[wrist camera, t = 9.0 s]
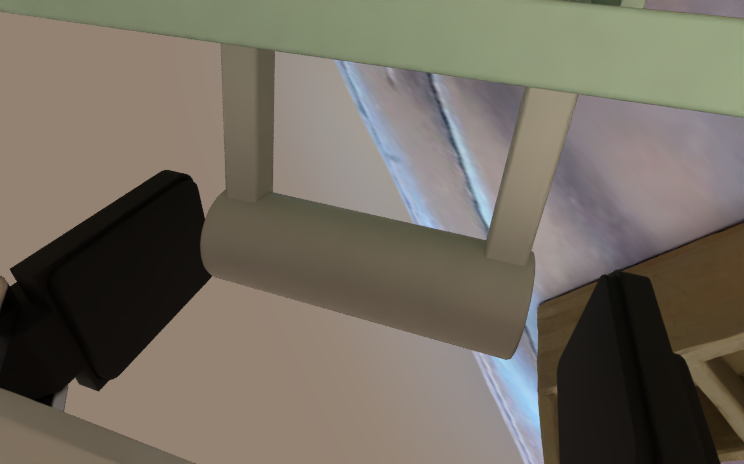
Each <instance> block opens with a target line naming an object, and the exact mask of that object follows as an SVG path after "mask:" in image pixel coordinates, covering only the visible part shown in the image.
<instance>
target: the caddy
mask: <svg viewBox="0 0 744 464" xmlns="http://www.w3.org/2000/svg"><path fill="white" fill-rule="evenodd" d="M622 271H624V272H628V273H633V274H637V275H642V276H646V277H648V278H650V280H651V283H652V286H653V289H654V292H655V296H656V299H657V302H658V305H659V309H660V312H661V315H662V318H663V322H664V325H665V328H666V331H667V335H668V338H669V341H670V344H671V347H672V351H673V353H676V354H680V355H681V356H682V357H683V358H684V359H685V361H686V363H687V365H688V367H689V370H690V373H691V376H692V379H693V382H694V385H695V388H696V391H697V394H698V397H699V400H700V403H701V406H702V409H703V412H704V415H705V418H706V421H707V424H708V427H709V430H710V433H711V436H712V439H713V442H714V445H715V448H716V451H717V454H718V457H719V460H720V463H721V462H725V461H737V460H744V222H743V223H741V224H738V225H736V226H733V227H731V228H729V229H727V230H725V231H722V232H719V233H716V234H712V235H709V236H707V237H704V238H702V239H699V240H697V241H695V242H692V243H690V244H688V245H685V246H683V247H681V248H678V249H676V250H673V251H671V252H668V253H666V254H663V255H661V256H658V257H656V258H653V259H651V260H648V261H646V262H643V263H641V264H638V265H636V266H633V267H630V268H628V269H625V270H622ZM610 276H611V275H610ZM597 282H598V281H597ZM597 282H594V283H592V284H589V285H587V286H584V287H582V288H580V289H577V290H575V291H573V292H570V293H568V294H565V295H563V296H560V297H558V298H555V299H552V300H550V301H547V302H545V303H543V304H541V305H540V306H538V312H537V327H538V355H537V370H538V405H539V416H540V428H541V439H542V448H543V456H544V464H560V461H559V431H558V401H557V367H558V363H559V359H560V357H561V355H562V353H563V351H564V349H565V347H566V345H567V343H568V341H569V339H570V337H571V335H572V333H573V331H574V329H575V327H576V325H577V323H578V321H579V319H580V317H581V315H582V313H583V311H584V309H585V306H586V304H587V302H588V300H589V298H590V296H591V294H592V292H593V290H594V288H595V286H596V284H597Z"/></svg>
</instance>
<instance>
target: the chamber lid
mask: <svg viewBox="0 0 744 464" xmlns="http://www.w3.org/2000/svg"><path fill="white" fill-rule="evenodd" d="M0 12H5V13H12V14H19V15H26V16H33V17H40V18H47V19H55V20H61V21H68V22H75V23H83V24H90V25H96V26H103V27H111V28H118V29H125V30H132V31H139V32H146V33H153V34H160V35H167V36H174V37H181V38H188V39H195V40H202V41H209V42H216V43H221V65H222V89H223V90H222V92H223V121H224V145H225V146H224V149H225V178H226V190H224V191H223V192H222V193H221V194H220V195H219V196H218V197H217V198H216V200H215V201H214V203H213V204H212V206H211V207H210V209H209V212H208V214H207V216H206V218H205V221H204V224H203V228H202V233H201V241H200V252H201V258H202V262H203V265H204V267H205V269H206V270H207V271H208V273H210V274H211V275H212V276H214V277H216V278H219V279H223V280H226V281H230V282H234V283H237V284H241V285H244V286H248V287H251V288H255V289H258V290H262V291H265V292H269V293H272V294H276V295H279V296H283V297H286V298H290V299H294V300H297V301H300V302H304V303H308V304H311V305H315V306H318V307H322V308H326V309H329V310H332V311H336V312H339V313H343V314H346V315H350V316H354V317H357V318H361V319H364V320H368V321H371V322H375V323H378V324H382V325H385V326H389V327H392V328H396V329H399V330H403V331H406V332H410V333H414V334H417V335H421V336H424V337H428V338H431V339H435V340H438V341H442V342H446V343H449V344H452V345H456V346H460V347H463V348H466V349H470V350H474V351H477V352H481V353H484V354H488V355H491V356H495V357H498V358H502V359H505V360H507V359H511V358H512V356H513V355H514V353H515V351H516V349H517V347H518V345H519V342H520V339H521V336H522V333H523V330H524V327H525V323H526V319H527V315H528V311H529V307H530V302H531V297H532V291H533V285H534V277H535V256H534V253H533V252H532V251H531V249H532V246H533V242H534V239H535V236H536V233H537V229H538V226H539V223H540V220H541V216H542V213H543V210H544V206H545V203H546V200H547V197H548V193H549V190H550V187H551V184H552V180H553V177H554V174H555V170H556V167H557V164H558V161H559V157H560V154H561V151H562V147H563V144H564V141H565V138H566V134H567V131H568V128H569V125H570V121H571V118H572V115H573V111H574V108H575V105H576V102H577V98H578V95H579V94H581V95H588V96H595V97H602V98H609V99H616V100H623V101H630V102H637V103H644V104H651V105H659V106H666V107H673V108H680V109H687V110H694V111H701V112H708V113H715V114H722V115H729V116H736V117H743V118H744V18H735V17H725V16H715V15H704V14H694V13H684V12H673V11H663V10H653V9H643V8H632V7H622V6H612V5H601V4H591V3H581V2H571V1H560V0H0ZM275 51H279V52H286V53H293V54H300V55H308V56H315V57H321V58H329V59H335V60H342V61H349V62H356V63H363V64H370V65H377V66H385V67H392V68H399V69H406V70H413V71H420V72H427V73H434V74H441V75H448V76H455V77H462V78H469V79H476V80H483V81H490V82H497V83H504V84H511V85H518V86H525V89H524V93H523V97H522V101H521V105H520V109H519V113H518V117H517V121H516V125H515V129H514V133H513V137H512V141H511V145H510V149H509V153H508V157H507V161H506V165H505V169H504V173H503V177H502V181H501V185H500V189H499V193H498V197H497V200H496V204H495V208H494V212H493V216H492V220H491V224H490V228H489V232H488V236H487V240H483V239H478V238H474V237H469V236H465V235H460V234H456V233H451V232H447V231H442V230H438V229H434V228H429V227H425V226H420V225H416V224H411V223H407V222H402V221H398V220H393V219H389V218H385V217H380V216H376V215H371V214H367V213H362V212H357V211H353V210H349V209H344V208H340V207H335V206H331V205H327V204H322V203H318V202H313V201H308V200H304V199H300V198H295V197H291V196H286V195H282V194H278V193H273V139H274V138H273V137H274V136H273V135H274V68H275V67H274V66H275V65H274V64H275V63H274V62H275Z"/></svg>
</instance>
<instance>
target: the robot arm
mask: <svg viewBox="0 0 744 464" xmlns="http://www.w3.org/2000/svg"><path fill="white" fill-rule="evenodd" d="M204 221H205V217H204V213H203V208H202V204H201V200H200V195H199V190H198V187H197V184H196V183H195V182H193V179H192V178H191V177H190V176H189V175H187V174H184V173H179V172H175V171H170V170H164V171H161V172H160V173H158V174H156V175H155V176H153V177H152V178H150V179H149V180H147V181H145V182H144V183H142V184H141V185H139V186H138V187H136V188H135V189H133V190H132V191H130V192H128V193H127V194H125V195H124V196H122V197H121V198H119V199H118V200H116V201H115V202H113V203H112V204H110V205H108V206H107V207H105V208H104V209H102V210H101V211H99V212H97V213H96V214H94V215H93V216H91V217H90V218H88V219H86V220H85V221H83V222H82V223H80V224H79V225H77V226H76V227H74V228H73V229H71V230H69V231H68V232H66V233H65V234H63V235H62V236H60V237H59V238H57V239H56V240H54V241H52V242H51V243H49V244H48V245H46V246H45V247H43V248H41V249H40V250H38V251H37V252H36V253H34V254H32V255H31V256H29V257H28V258H26V259H24V260H23V261H22V262H20V263H18V264H17V265H15V266H14V267H12V268H10V271H11V272H12V274H13V276H14V277H15V279H16V281H17V282H16V283H14V284H13V285H12V286H9V284H8V283H7V281H6V280H5V278H3V277H2V276H0V464H195V463H193V462H190V461H187V460H185V459H182V458H180V457H177V456H175V455H172V454H170V453H167V452H165V451H162V450H159V449H157V448H154V447H152V446H149V445H147V444H144V443H142V442H139V441H137V440H134V439H132V438H129V437H126V436H124V435H121V434H119V433H116V432H114V431H111V430H108V429H106V428H103V427H101V426H98V425H96V424H93V423H91V422H88V421H85V420H82V419H80V418H78V417H75V416H73V415H70V414H67V413H65V412H64V409H65V403H66V397H67V391H68V383H70V382H71V381H72V380H73V379H74V378H76V379H77V381H78V383H79V384H80V385H83V386H86V387H88V388H91V389H94V390H96V391H99V390H100V389H101V388H103V386H104V385H105V384H106V383H107V382H108V381H109V380H111V379H114V378H116V377H118V376H119V375H120V374H121V373H122V372H123V371H124V370H125V369H126V368H127V367H128V366H129V364H130V363H131V362H132V361H133V360H134V359H135V358H136V357H137V356H138V355H139V354H140V353H141V352H142V351H143V349H144V348H145V347H146V346H147V345H148V344H149V343H150V342H151V341H152V340H153V339H154V338H155V336H157V335H158V333H159V332H160V331H161V330H162V329H163V328H164V327H165V326H166V325H167V324H168V323H169V322H170V321H171V320H172V319H173V318H174V316H176V314H177V313H178V312H179V311H180V310H181V309H182V308H183V307H184V306H185V305H186V304H187V303H188V301H189V300H190V299H191V298H192V297H193V296H194V295H195V294H196V293H197V292H198V291H199V290H200V289H201V288H202V287H203V286H204V285H205V284H206V283H207V281H208V280H209V279H210V278H211V277H212V275H211V274H210V273H208V271H207V270H206V269H205V267H204V265H203V262H202V258H201V252H200V241H201V233H202V228H203V224H204ZM557 401H558V431H559V461H560V464H721V463H720V460H719V457H718V454H717V451H716V448H715V445H714V442H713V439H712V436H711V433H710V430H709V427H708V424H707V421H706V418H705V415H704V412H703V409H702V406H701V403H700V400H699V397H698V394H697V391H696V388H695V385H694V382H693V379H692V376H691V373H690V370H689V367H688V365H687V363H686V361H685V359H684V358H683V357H682V356H681V355H680V354H676V353H673V351H672V347H671V344H670V341H669V338H668V335H667V331H666V328H665V325H664V322H663V318H662V315H661V312H660V309H659V305H658V302H657V299H656V296H655V292H654V289H653V286H652V283H651V280H650V278H648V277H646V276H642V275H637V274H633V273H628V272H624V271H619V270H616V271H614V272H613V273H612V274H611V276H608V275H602V276H601V277H600V278H599V280H598V282H597V284H596V286H595V288H594V290H593V292H592V294H591V296H590V298H589V300H588V302H587V304H586V306H585V309H584V311H583V313H582V315H581V317H580V319H579V321H578V323H577V325H576V327H575V329H574V331H573V333H572V335H571V337H570V339H569V341H568V343H567V345H566V347H565V349H564V351H563V353H562V355H561V357H560V359H559V363H558V367H557Z"/></svg>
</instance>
